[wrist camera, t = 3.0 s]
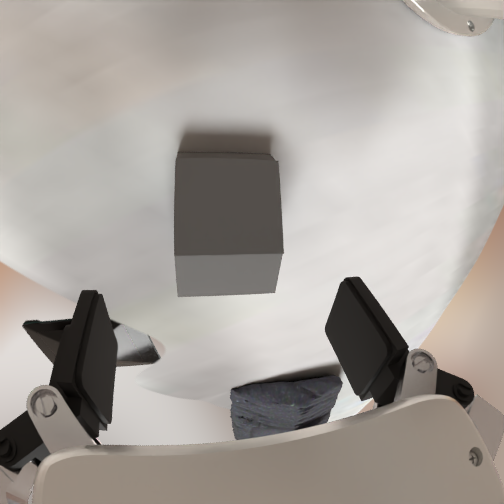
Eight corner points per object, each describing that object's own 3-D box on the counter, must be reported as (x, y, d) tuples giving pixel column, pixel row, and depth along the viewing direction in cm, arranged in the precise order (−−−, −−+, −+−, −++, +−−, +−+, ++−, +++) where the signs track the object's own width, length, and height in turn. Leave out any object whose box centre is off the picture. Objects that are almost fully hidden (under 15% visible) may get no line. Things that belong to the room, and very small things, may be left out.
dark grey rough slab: (356, 356, 31) (371, 389, 27) (321, 422, 44) (328, 445, 40) (223, 381, 29) (229, 420, 25) (234, 439, 42) (238, 464, 38)
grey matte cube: (270, 151, 15) (296, 183, 12) (258, 244, 19) (275, 294, 15) (177, 149, 14) (171, 180, 11) (179, 246, 18) (177, 298, 14)
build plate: (57, 366, 24) (49, 402, 20) (20, 320, 20) (5, 359, 16) (162, 360, 25) (162, 403, 22) (136, 308, 21) (130, 357, 17)
